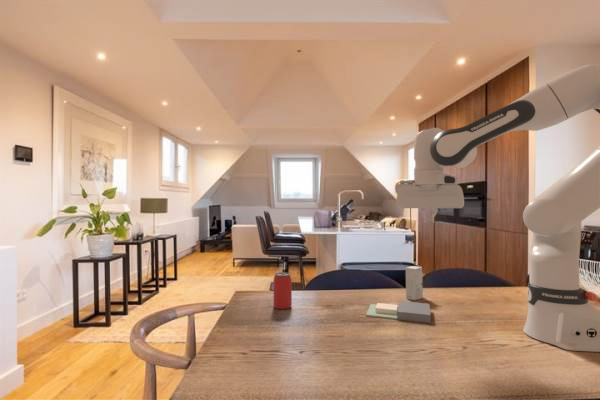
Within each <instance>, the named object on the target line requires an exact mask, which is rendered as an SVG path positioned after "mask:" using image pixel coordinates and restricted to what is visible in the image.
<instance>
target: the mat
mask: <svg viewBox="0 0 600 400" xmlns="http://www.w3.org/2000/svg"><path fill="white" fill-rule="evenodd" d="M376 305H377V303H376V304H374V303H370V304H369V307H368V309H367V311H366V314H365V316H366V317H371V318H379V319H380V318H381V319H390V320H398V319H397V315H395V314H386V313H376V312H375V308H376Z"/></svg>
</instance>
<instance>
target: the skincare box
mask: <svg viewBox="0 0 600 400" xmlns="http://www.w3.org/2000/svg"><path fill="white" fill-rule="evenodd" d="M423 286H424V285H423V267H422V266H416V265H411V266H407V267H405V293H406V294H405V299H407V300H410V301H411V300H412V301H417V300H420V299H423V297H424V292H423V291H424V289H423V288H424V287H423Z"/></svg>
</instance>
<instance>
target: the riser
mask: <svg viewBox="0 0 600 400" xmlns="http://www.w3.org/2000/svg"><path fill="white" fill-rule="evenodd" d="M397 305H398V310H397V319H396V320H398V321H399V320H400V321H410V322H418V323H427V324H431V323H432V319H431V318H432V317H431V316H432V315H431V308H430V307H431V306H430V303H423V302H413V301H403V300H402V301H401V300H399V301H398V304H397Z"/></svg>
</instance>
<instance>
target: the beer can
mask: <svg viewBox="0 0 600 400" xmlns="http://www.w3.org/2000/svg"><path fill="white" fill-rule="evenodd" d="M292 297H293V296H292V277H291V274H290V273H289V272H283V271H282V272H276V273H274V277H273V308H275V309H276V310H288V309H290V308H291V307H292V305H293V303H292V301H293V300H292Z"/></svg>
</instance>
